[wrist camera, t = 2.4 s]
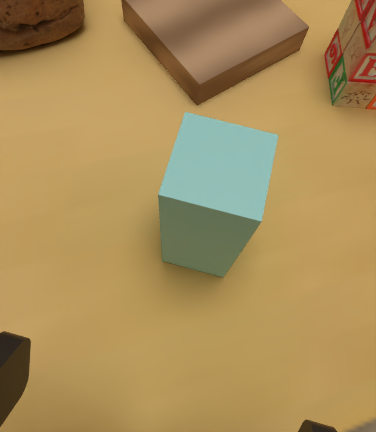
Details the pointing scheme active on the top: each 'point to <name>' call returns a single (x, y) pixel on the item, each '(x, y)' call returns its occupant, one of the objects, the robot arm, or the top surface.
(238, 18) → the slab
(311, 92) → the top surface
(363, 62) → the stack of blocks
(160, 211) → the post
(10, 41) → the block
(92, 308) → the top surface
